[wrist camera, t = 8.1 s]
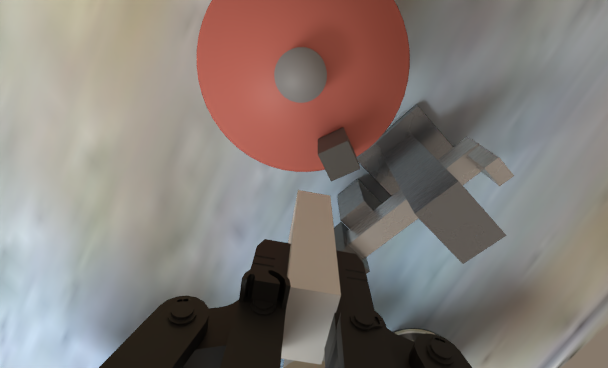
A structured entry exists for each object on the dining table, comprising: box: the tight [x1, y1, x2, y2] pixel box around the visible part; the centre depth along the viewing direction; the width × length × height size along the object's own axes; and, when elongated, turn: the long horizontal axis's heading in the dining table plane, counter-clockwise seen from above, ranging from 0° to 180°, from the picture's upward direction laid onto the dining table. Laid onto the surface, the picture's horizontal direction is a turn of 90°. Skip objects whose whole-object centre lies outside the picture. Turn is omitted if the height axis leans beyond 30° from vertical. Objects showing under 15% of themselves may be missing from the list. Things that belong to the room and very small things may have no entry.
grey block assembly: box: [337, 105, 506, 264], centre depth 30 cm, size 12×9×13 cm
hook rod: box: [334, 137, 514, 274], centre depth 30 cm, size 18×3×7 cm, turn 135°
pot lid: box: [197, 0, 410, 181], centre depth 21 cm, size 14×14×5 cm
